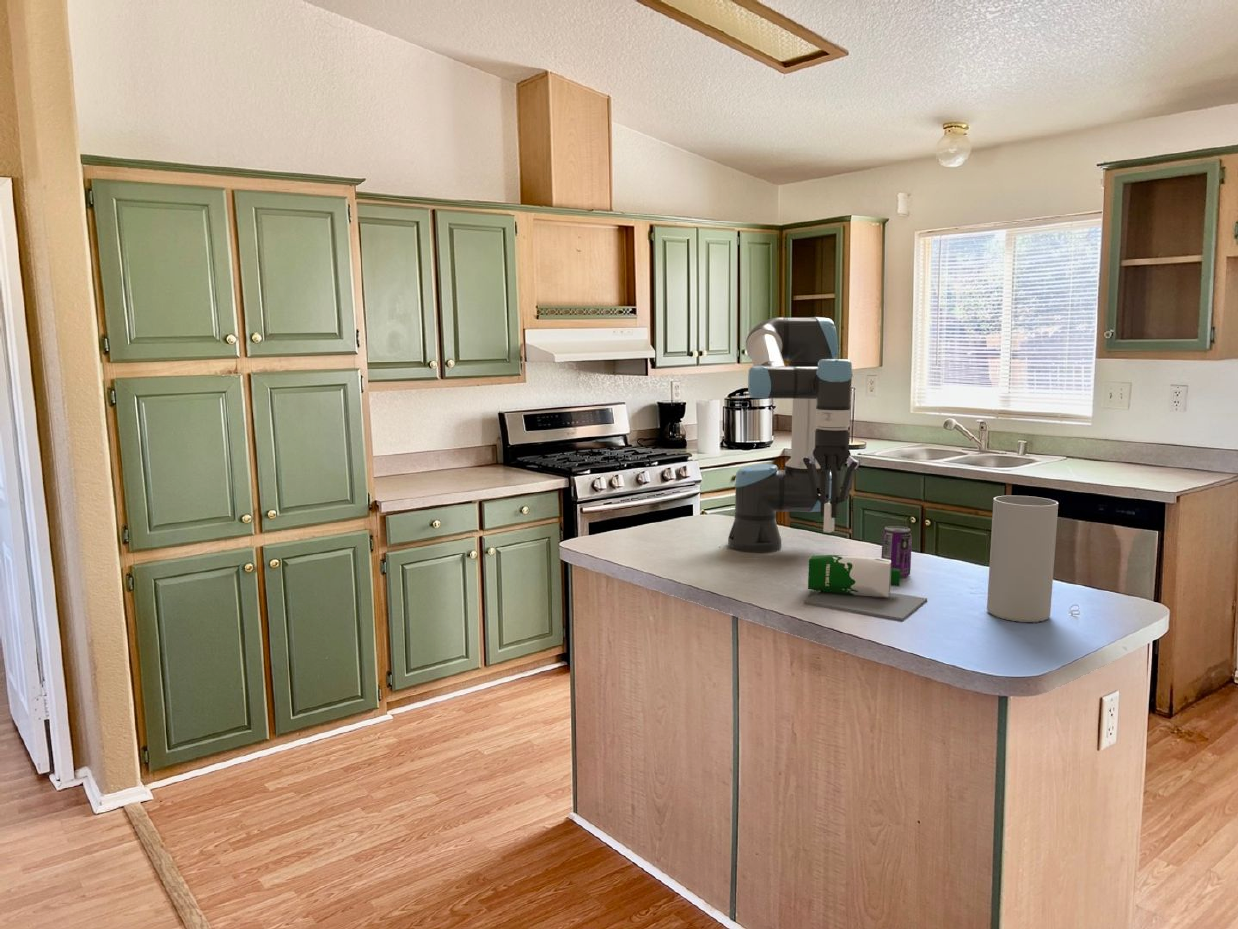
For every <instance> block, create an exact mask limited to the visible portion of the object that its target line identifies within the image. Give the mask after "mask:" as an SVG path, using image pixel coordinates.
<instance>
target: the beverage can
mask: <svg viewBox="0 0 1238 929" xmlns="http://www.w3.org/2000/svg"><path fill="white" fill-rule="evenodd" d="M912 542H913V536H912V533H911V528H909V527H906V526H900V525H897V526H896V525H895V526H893V525H891V526H885V527H884V531H883V533H882V536H881V556H880V557H881V558H882V559H888V560H891V569H892V568H894V569H900V579H902V578H906V577H908V576H910V575H911V567H912V566H911V565H912V545H913V544H912Z"/></svg>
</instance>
